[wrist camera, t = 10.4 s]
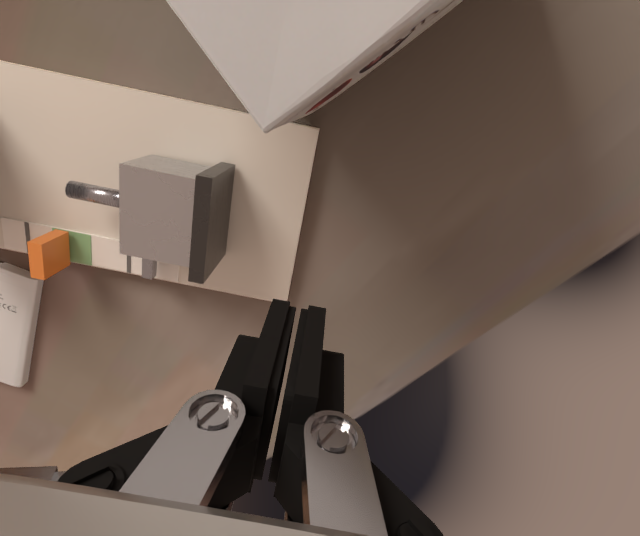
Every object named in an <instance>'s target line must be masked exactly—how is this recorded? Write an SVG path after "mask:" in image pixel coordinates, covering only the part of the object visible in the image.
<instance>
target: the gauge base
mask: <svg viewBox="0 0 640 536" xmlns="http://www.w3.org/2000/svg"><path fill="white" fill-rule="evenodd" d="M319 130H320V128H317V127H312V126H307V125H303V124H298V123H293V122H289V123H287V124H285V125H282V126H280V127H277V128H275V129H273V130H271V131H270V132H268V133H264V132H263V131H262V130H261V129H260V127H259V126H258V124H257V123H256V122H255V120H254V119H253V118H252V116H251V115H250V114H249V113H246V112H242V111H237V110H232V109H228V108H223V107H218V106H213V105H209V104H204V103H199V102H195V101H190V100H185V99H181V98H176V97H171V96H166V95H162V94H157V93H152V92H148V91H143V90H138V89H134V88H129V87H124V86H119V85H115V84H110V83H105V82H101V81H96V80H91V79H87V78H82V77H77V76H72V75H68V74H63V73H58V72H54V71H49V70H44V69H40V68H35V67H30V66H25V65H21V64H16V63H11V62H7V61H2V60H0V248H2V249H7V250H12V251H17V252H22V253H27V254H28V246H27V242H28V241H30V240H32V239H35V238H37V237H39V236H41V235H44V234H46V233H48V232H50V231H53V230H55V229H57V230H62V231H67V232H69V249H70V262H73V263H78V264H83V265H88V266H93V267H99V268H104V269H109V270H114V271H119V272H124V273H129V274H134V275H139V276H142V258H139V257H134V256H128V255H123V254H120V246H119V208H117V207H112V206H108V205H103V204H98V203H93V202H88V201H83V200H78V199H73V198H69V197H67V195H66V193H65V188H66V184H67V183H68V182H69V181H71V180H72V181H77V182H82V183H87V184H92V185H97V186H102V187H107V188H111V189H116V190H119V163H123V162H126V161H130V160H133V159H137V158H141V157H144V156H148V155H151V154H152V155H157V156H162V157H167V158H171V159H176V160H181V161H186V162H191V163H195V164H200V165H205V166H210V167H212V166H214V165H216V164H218V163H220V162H225V163H230V164H235V173H234V182H233V191H232V200H231V210H230V219H229V228H228V237H227V246H226V254H225V256H224V257H223V258H222V260H221V261H220V262H219V264H218V265H217V266H216V268H215V269H214V270H213V272H212V273H211V274H210V276H209V277H208V278H207V280H206V281H205V282H204V284H199V283H194V282H189V281H188V274H189V267H184V266H179V265H174V264H169V263H164V262H159V261H157V272H156V276H155V277H154V279H159V280H165V281H170V282H175V283H180V284H185V285H190V286H195V287H200V288H205V289H210V290H215V291H220V292H226V293H231V294H236V295H241V296H246V297H251V298H256V299H261V300H266V301H271V302H272V300H273V299H278V300H284V301H287V300H288V296H289V290H290V285H291V280H292V274H293V269H294V264H295V258H296V253H297V248H298V242H299V237H300V231H301V226H302V221H303V215H304V210H305V205H306V199H307V194H308V189H309V183H310V178H311V173H312V167H313V162H314V156H315V151H316V146H317V140H318V135H319Z"/></svg>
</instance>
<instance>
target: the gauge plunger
mask: <svg viewBox="0 0 640 536" xmlns="http://www.w3.org/2000/svg"><path fill="white" fill-rule="evenodd" d="M234 173H235V164H230V163H225V162H220V163H218V164H216V165H214V166H212V167H210V166H205V165H200V164H195V163H191V162H186V161H181V160H176V159H171V158H167V157H162V156H157V155H152V154H151V155H148V156H144V157H141V158H137V159H133V160H130V161H126V162H123V163H119V190H116V189H111V188H107V187H102V186H97V185H92V184H87V183H82V182H77V181H72V180H71V181H69V182H68V183H67V184H66V188H65V193H66V195H67V197H69V198H73V199H78V200H83V201H88V202H93V203H98V204H103V205H108V206H112V207H117V208H119V246H120V254H123V255H128V256H134V257H139V258H142V278H146V279H151V280H152V279H153V278H154V277H155V276H156V272H157V261H159V262H164V263H169V264H174V265H179V266H184V267H189V274H188V281H189V282H194V283H199V284H204V282H205V281H206V280H207V278H208V277H209V276H210V274H211V273H212V272H213V270H214V269H215V268H216V266H217V265H218V264H219V262H220V261H221V260H222V258H223V257H224V256H225V254H226V246H227V237H228V228H229V219H230V210H231V200H232V191H233V182H234Z"/></svg>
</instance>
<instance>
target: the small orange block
mask: <svg viewBox="0 0 640 536" xmlns="http://www.w3.org/2000/svg"><path fill="white" fill-rule="evenodd" d="M27 246H28V255H29V265H30V275H31V278H36V279H41V280H46V279H47V278H49V277H51V276H52V275H54V274H56V273H57V272H59V271H61V270H62V269H64V268H66V267H67V266H69V265H70V249H69V232H67V231H62V230H57V229H55V230H53V231H50V232H48V233H46V234H44V235H41V236H39V237H37V238H35V239H32V240H30V241H28V242H27Z"/></svg>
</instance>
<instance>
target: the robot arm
mask: <svg viewBox="0 0 640 536" xmlns="http://www.w3.org/2000/svg"><path fill="white" fill-rule="evenodd" d="M295 311H296V307H291V306H290V302H289V301H284V300H278V299H273V300H272V303H271V306H270V309H269V312H268V314H267V317H266V320H265V323H264V326H263V329H262V332H261V335H260V337H259V338H256V337H250V336H245V335H239V336H238V338H237V340H236V342H235V345H234V347H233V349H232V351H231V354H230V356H229V358H228V360H227V363H226V365H225V367H224V370H223V372H222V374H221V376H220V379H219V381H218V383H217V386H216V388H215V390H207V391H203V392H199V393H198V394H196V395H194V396H192V397H191V398H190V399H189V400H188V401H187V402H186V403H185V404H184V405H183V406H182V408H181V409H180V410H179V412H178V413H177V414H176V416H175V417H174V418H173V420H172V421H171V422H170V424H169V425H168V426H165V427H163V428H161V429H158V430H156V431H153V432H151V433H149V434H146V435H144V436H142V437H139V438H137V439H134V440H132V441H130V442H127V443H125V444H123V445H120V446H118V447H115V448H113V449H111V450H108V451H106V452H104V453H101V454H99V455H96V456H94V457H92V458H89V459H87V460H85V461H82V462H80V463H79V464H77V465H75V466H73V467H71V468H70V469H69V470H68V471H64V472H58V469H57V466H48V467H17V468H0V536H443V534H442V533H441V531H440V530H439V529H438V528H437V526H436V525H435V524H434V523H433V522H432V521H431V520H430V519H429V518H428V517H427V516H426V515H425V514H424V513H423V512H422V511H421V510H420V509H419V508H418V507H417V506H416V505H415V504H414V503H413V502H412V501H411V500H410V499H409V498H408V497H407V496H406V495H405V494H404V493H403V492H402V491H401V490H399V488H398V487H397V486H395V484H394V483H392V481H391V480H390V479H389V478H387V477H386V476H385V475H384V474H383V473H382V472H381V471H380V470H379V469H378V468H377V467H376V466H375V465H374V464H373V463H372V462H371V461H370V458H369V454H368V450H367V445H366V441H365V437H364V434H363V431H362V429H361V427H360V426H359V425H358V424H357V422H356V421H355V420H354V419H352V418H351V417H349V416H348V415H346V414H344V354H342V353H336V352H331V351H326V350H322V349H323V338H324V326H325V314H326V308H321V307H315V306H310V305H309V308H308V310H307V309H301V314H300V319H299V324H298V329H297V334H296V339H295V344H294V349H293V354H292V359H291V364H290V369H289V373H288V378H287V383H286V389H285V394H284V399H283V404H282V410H281V415H280V420H279V426H278V431H277V436H276V442H275V447H274V452H273V458H272V463H271V469H270V474H269V479H268V481H269V482H275V483H276V487H275V492H274V497H276V498H277V500H278V501H279V503H280V504H281V505H282V507H283V508H284V509H285V517H284V520H280V519H273V518H268V517H262V516H257V515H251V514H246V513H240V512H234V511H231V509H232V506H233V501H234V500H236V499H237V498H239V497H240V496H242V495H244V494H245V493H247V492H251V487H252V483H253V479H258V480H262V475H263V471H264V466H265V462H266V457H267V452H268V448H269V443H270V438H271V434H272V429H273V424H274V420H275V415H276V410H277V406H278V401H279V396H280V392H281V387H282V382H283V377H284V372H285V366H286V360H287V355H288V349H289V344H290V338H291V333H292V327H293V322H294V316H295Z"/></svg>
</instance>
